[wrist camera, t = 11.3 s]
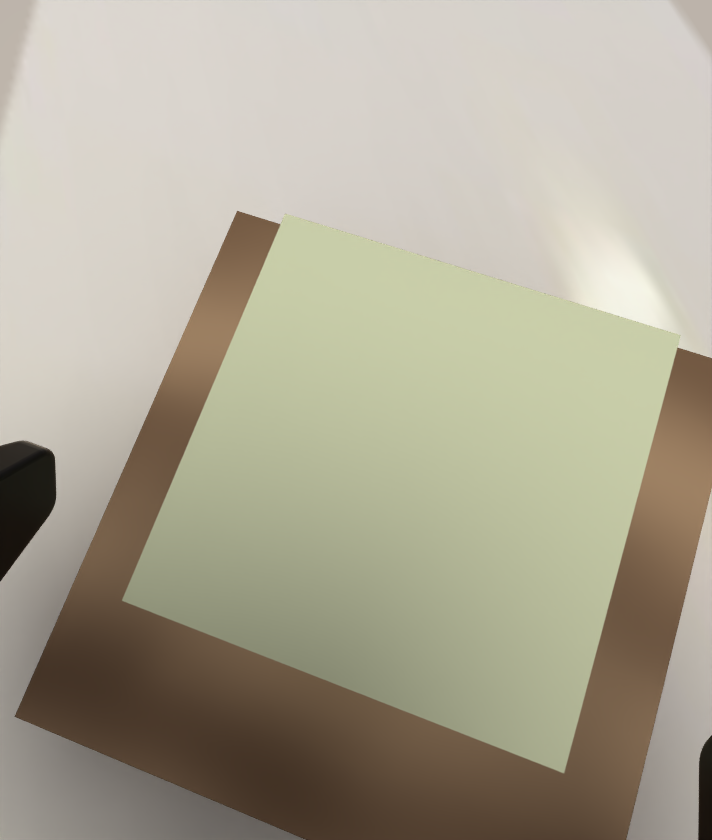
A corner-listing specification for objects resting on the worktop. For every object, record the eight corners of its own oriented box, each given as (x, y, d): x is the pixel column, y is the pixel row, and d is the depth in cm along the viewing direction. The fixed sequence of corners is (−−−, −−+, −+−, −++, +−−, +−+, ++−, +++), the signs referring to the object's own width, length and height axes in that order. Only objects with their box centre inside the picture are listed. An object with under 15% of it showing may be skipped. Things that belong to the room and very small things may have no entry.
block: (451, 653, 16) (563, 773, 6) (278, 588, 16) (122, 600, 6) (506, 478, 17) (680, 334, 7) (340, 421, 17) (284, 214, 7)
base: (559, 896, 17) (596, 961, 14) (72, 695, 19) (14, 716, 16) (688, 398, 20) (740, 367, 17) (257, 260, 22) (237, 211, 19)
